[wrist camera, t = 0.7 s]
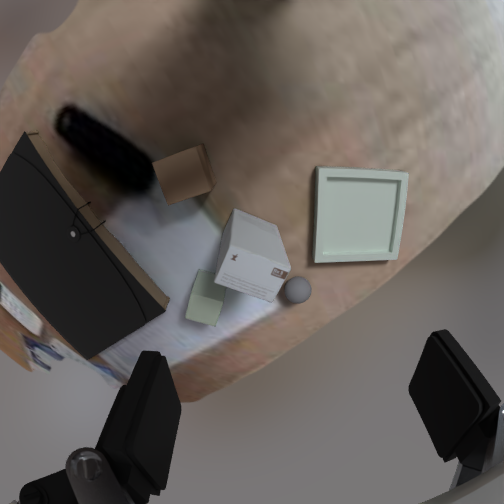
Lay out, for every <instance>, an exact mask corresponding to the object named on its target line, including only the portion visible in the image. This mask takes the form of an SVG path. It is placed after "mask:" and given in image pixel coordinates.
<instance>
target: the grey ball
mask: <svg viewBox="0 0 504 504" xmlns="http://www.w3.org/2000/svg"><path fill="white" fill-rule="evenodd" d="M285 295H286V297H287V299H288V300H289V301H291V302H293V303H303V302H305V301H306V300H307V299H308V298H309V297H310V295H311V285H310V283H309V282H308V280H306V279H305V278H303V277H293V278H291V279H290V280H289V281H288V282H287V283H286V285H285Z"/></svg>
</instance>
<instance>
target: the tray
mask: <svg viewBox="0 0 504 504" xmlns="http://www.w3.org/2000/svg"><path fill="white" fill-rule="evenodd" d="M408 176H409V173H407V172H405V171H402V170H390V169H376V168H359V167H335V166H316V171H315V209H314V233H313V251H312V257H313V260H314V262H315V263H321V262H348V261H373V260H396V259H397V258H398V252H399V246H400V240H401V234H402V228H403V221H404V213H405V205H406V197H407V187H408Z"/></svg>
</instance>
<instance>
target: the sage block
mask: <svg viewBox="0 0 504 504" xmlns="http://www.w3.org/2000/svg"><path fill="white" fill-rule="evenodd" d="M214 277H215V274H214V273H210V272H207V271H203V270H200V269H199V271H198V274H197V277H196V280H195V283H194V286H193V289H192V292H191V296H190V300H189V304H188V308H187V312H186V316H185V318H186V319H190V320H193V321H197V322H200V323H204V324H207V325H211V326H215V327H216V324H217V321H218V318H219V315H220V312H221V309H222V306H223V303H224V297H225V290H226V287H225V286H222V285H219V284H217V283H215V282H214Z"/></svg>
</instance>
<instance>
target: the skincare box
mask: <svg viewBox="0 0 504 504" xmlns="http://www.w3.org/2000/svg"><path fill="white" fill-rule="evenodd" d="M290 270H291V266H290V264H289V261H288V258H287V255H286V252H285V249H284V246H283V243H282V240H281V237H280V234H279V231H278V228H277V226H276V225H274V224H272V223H269V222H267V221H265V220H262V219H260V218H258V217H255V216H253V215H250V214H248V213H245V212H243V211H241V210H238V209H236V208H234V209H233V211H232V213H231V216H230V218H229V220H228V222H227V225H226V227H225V230H224V232H223V235H222V241H221V246H220V251H219V256H218V261H217V267H216V273H215V277H214V282H215V283H217V284H219V285H222V286H225V287H228V288H231V289H234V290H237V291H239V292H242V293H245V294H248V295H251V296H254V297H257V298H260V299H263V300H266V301H268V302H271V303H272V302H273V301H274V299H275V297H276V295H277V293H278V292H279V290H280V288H281V286H282V284H283V283H284V281H285V279H286V277H287V275H288V274H289V272H290Z"/></svg>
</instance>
